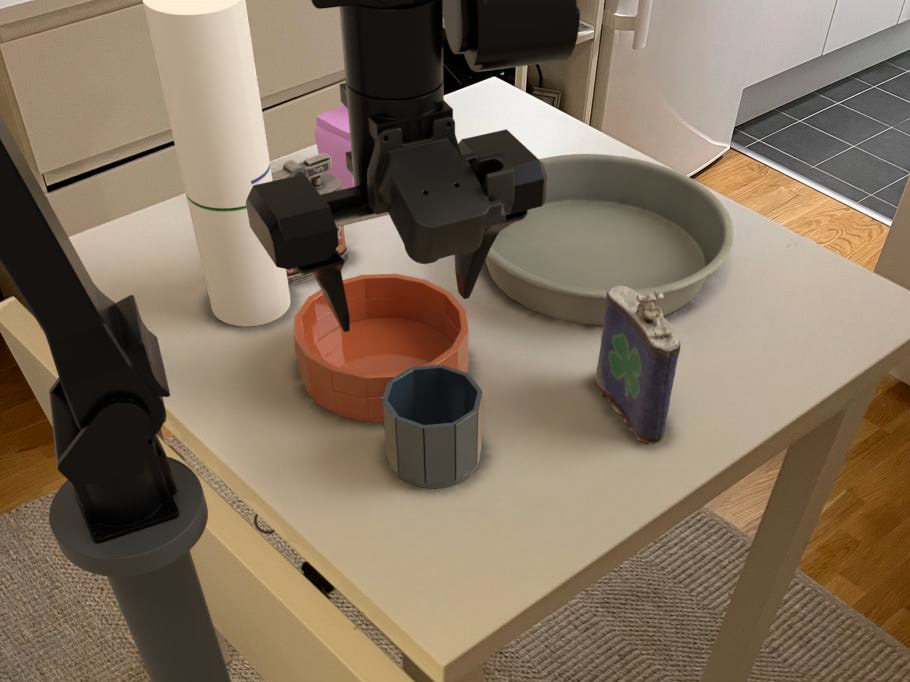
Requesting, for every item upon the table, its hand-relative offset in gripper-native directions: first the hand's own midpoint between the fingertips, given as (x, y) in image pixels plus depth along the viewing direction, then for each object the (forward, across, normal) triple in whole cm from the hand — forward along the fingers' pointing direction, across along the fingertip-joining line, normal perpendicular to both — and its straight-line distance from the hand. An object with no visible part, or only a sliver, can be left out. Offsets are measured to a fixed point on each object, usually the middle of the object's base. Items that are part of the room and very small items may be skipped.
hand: (405, 312), depth 70 cm
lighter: (+12, +2, +26) cm, 29 cm away
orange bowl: (+12, +2, +10) cm, 15 cm away
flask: (+12, +18, -4) cm, 22 cm away
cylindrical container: (+12, -5, +23) cm, 27 cm away
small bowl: (+12, +1, -2) cm, 12 cm away
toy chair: (+12, +12, +38) cm, 41 cm away
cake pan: (+12, +27, +16) cm, 33 cm away
